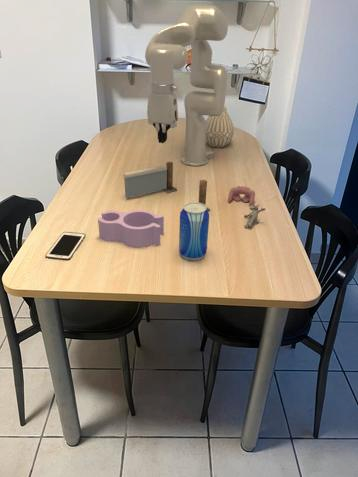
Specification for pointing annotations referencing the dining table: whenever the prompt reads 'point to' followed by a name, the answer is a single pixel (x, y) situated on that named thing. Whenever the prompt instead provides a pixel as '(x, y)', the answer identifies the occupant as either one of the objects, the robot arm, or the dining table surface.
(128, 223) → the clip
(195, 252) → the beer can
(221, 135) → the vase
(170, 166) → the wooden pegs
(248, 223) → the grey animal figurine
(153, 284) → the dining table surface
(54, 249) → the cell phone
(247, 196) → the video game controller
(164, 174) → the bar
